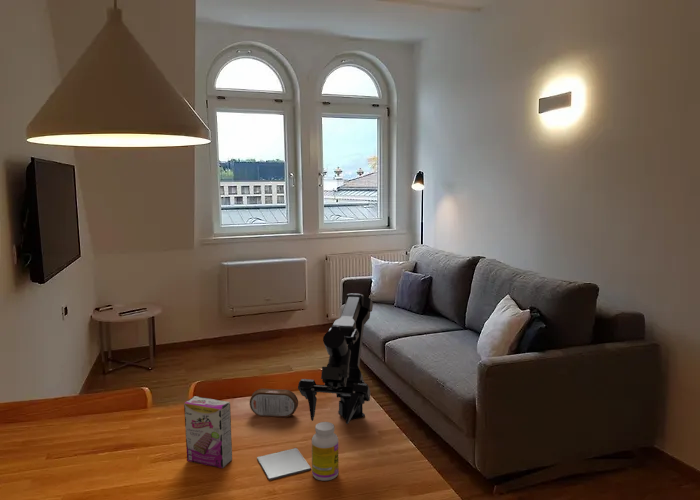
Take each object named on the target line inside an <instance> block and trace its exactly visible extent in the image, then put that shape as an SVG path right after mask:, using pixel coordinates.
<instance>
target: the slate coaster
mask: <svg viewBox="0 0 700 500" xmlns="http://www.w3.org/2000/svg"><path fill="white" fill-rule="evenodd" d="M256 459H257V461H258V463H259V465H260V467H261V468H262V470H263V473H264V474H265V476H266V477H267V479H268V481H273V480H277V479H281V478H283V477H284V478H285V477H289V476H292V475H296V474H300V473H304V472H307V471H312V466H311V465H309V463H308V462H307V460H306V459H305V458H304V456H303V454H302V453H301V452H300V450H299V449H298V447H294V448H291V449H285V450H282V451H278V452H274V453H269V454H265V455H264V454H263V455H260V456H257V457H256Z"/></svg>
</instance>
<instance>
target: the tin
mask: <svg viewBox="0 0 700 500" xmlns="http://www.w3.org/2000/svg"><path fill="white" fill-rule="evenodd" d="M298 406H299V399H298V396H297V395H296V394H295V393H294V392H292V391H291V390H288V389H281V388H280V389H276V388H275V389H274V388H259V389H256V390H255V391H253V393H252V395H251V397H250V399H249V408H250V410H251V412H253V413H254V414H255V415H257V416H259V417H265V418H266V417H268V418H269V417H270V418H271V417H272V418H289V417H291V416H293V415H294V414H295V412H296V411H297V409H298V408H299V407H298Z"/></svg>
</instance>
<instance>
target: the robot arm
mask: <svg viewBox="0 0 700 500" xmlns="http://www.w3.org/2000/svg"><path fill="white" fill-rule="evenodd" d="M373 305H374V303H373V300H372V299H371V298H370V297H368V296H364V294H362V293H347V294H346V297H345V302H344V307H343V309H342V313H341V315H340V317H339V318H337V319H335V320H334V321H333V323H332V324H331V327H330V328H329V330H328V331H327V332H325V334H324V335H323V337H322V342H323V345H324V347H325V350H326V353H327V354H328V355H329V357H328V362H327V364H326V366H322V367H321V377H320V379H321V382H322V383H323V384H317V383H316V381H315V379H308V378H307V379H306V378H301V379H300V380H299V382H298V385H297V389H298V392H299V393H300V395H301V396H303V397H304V398H305V399H306V400H307V402H308V406H309V407H308V409H309V415H310V420H311V422H313V421H314V419H315V416H316V415H315V414H316V406H317V402H318V401H317V400H318V398H317V397H316V396H317V394H318V393H323V394H324V393H326V394H336V398H337V399H338V398H340V399H339V400H338V411H337V412H338V414H339V415H340V416H341V417H342V418H343V419H344V420H345V424H346V425H347V424H349V423H350V421H351V420H355V419H359V418H363V416H364V417H366V414H365V413H364V412H363V407H364V406H363V405H364V404H365V402H370V400H371V389H370V386H369V384H367V383H366V382H365V380H364V375H363V373H362V372H361V370H360V364H361V363H360V362H361V354H362V346H363V338H364V337H363V335H364V327H365V324H366V323H367V322H368V321H369V319H370V317H371V313H372V312H373Z"/></svg>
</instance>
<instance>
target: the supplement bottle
mask: <svg viewBox="0 0 700 500" xmlns="http://www.w3.org/2000/svg"><path fill="white" fill-rule="evenodd" d="M314 431H315V433H314V434H313V435H312V438H311V473H312V476H313V477H314V479H316V480H318V481H323V482H324V481H325V482H327V481H332V480H335V478H336V477H338V475H339V472H340V471H339V467H340V466H339V465H340V464H339V459H340V458H339V438H338V435H337V433H335V425H334V423H332V422H329V421H320V422H318V423H316V424H315V430H314Z"/></svg>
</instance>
